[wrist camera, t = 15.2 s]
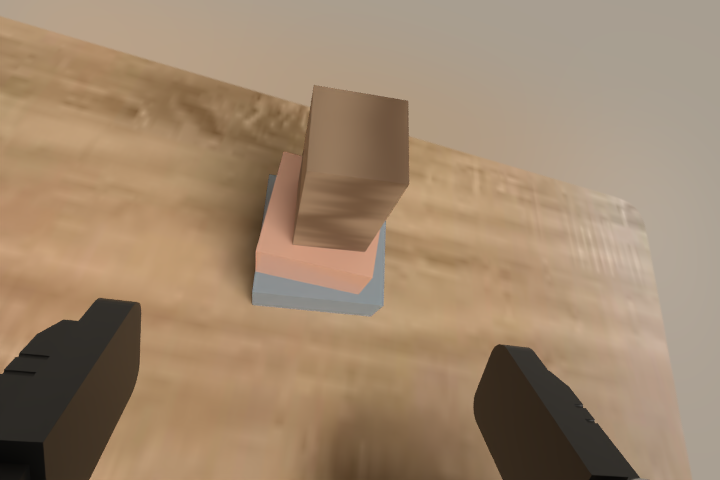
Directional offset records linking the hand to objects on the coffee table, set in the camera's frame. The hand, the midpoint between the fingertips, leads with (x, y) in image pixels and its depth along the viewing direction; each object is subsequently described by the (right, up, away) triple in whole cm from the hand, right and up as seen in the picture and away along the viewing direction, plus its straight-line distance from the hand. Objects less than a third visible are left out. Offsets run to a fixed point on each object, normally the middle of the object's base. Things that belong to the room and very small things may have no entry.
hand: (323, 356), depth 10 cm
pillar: (-1, +4, +21) cm, 22 cm away
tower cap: (-2, +3, +25) cm, 26 cm away
